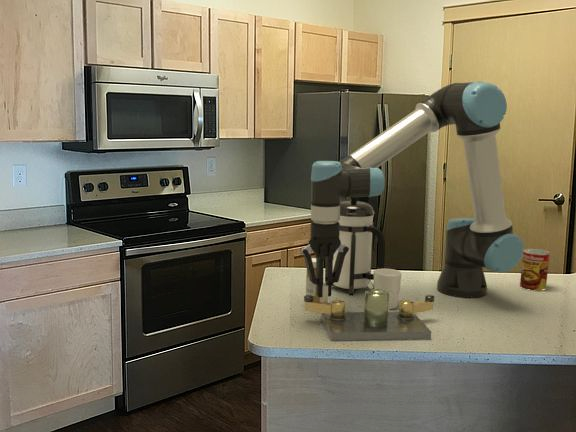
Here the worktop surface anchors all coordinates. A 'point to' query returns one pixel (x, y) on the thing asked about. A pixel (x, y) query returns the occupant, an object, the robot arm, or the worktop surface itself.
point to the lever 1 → (326, 307)
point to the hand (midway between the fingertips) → (323, 308)
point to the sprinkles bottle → (310, 287)
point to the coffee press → (358, 245)
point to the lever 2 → (415, 307)
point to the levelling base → (375, 332)
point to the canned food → (534, 269)
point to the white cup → (388, 284)
